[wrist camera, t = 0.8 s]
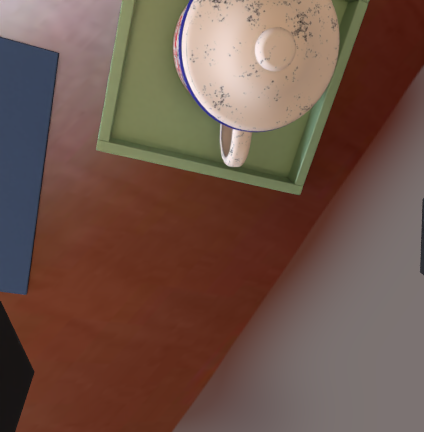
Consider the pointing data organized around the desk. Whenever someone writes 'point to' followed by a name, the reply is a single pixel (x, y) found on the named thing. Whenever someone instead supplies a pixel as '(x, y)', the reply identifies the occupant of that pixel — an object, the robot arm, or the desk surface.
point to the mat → (22, 153)
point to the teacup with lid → (255, 63)
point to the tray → (192, 113)
